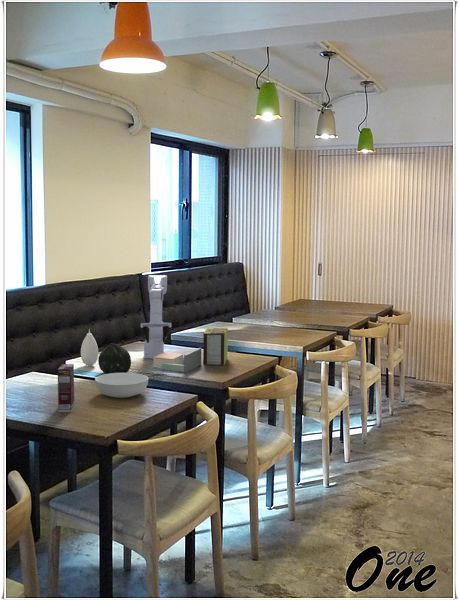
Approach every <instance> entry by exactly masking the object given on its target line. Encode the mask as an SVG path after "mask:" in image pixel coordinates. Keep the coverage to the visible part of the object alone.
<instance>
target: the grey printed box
mask: <svg viewBox="0 0 459 600" xmlns="http://www.w3.org/2000/svg"><path fill="white" fill-rule="evenodd" d="M202 350H203V347H198V348H196V349H194V350H192V351H189V352H188V353H185V354H183V364H182V365H179V364H169V363H162V368H161V370H162V369H165V370H164V371H169V370H172V372H178V371H182V372H181V373H188V372H190V371H192V370H193V369H196V368H198V367H199V366H201V365H202Z"/></svg>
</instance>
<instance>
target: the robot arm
mask: <svg viewBox="0 0 459 600" xmlns="http://www.w3.org/2000/svg"><path fill="white" fill-rule="evenodd" d="M167 289H168V276H167V275H157V274H156V275H155V274H153V275H152V274H149V275H148V276H147V290H148V293H149V305H150V307H149V308H150V309H149V310H150V311H149V322H141V323H140V328H142V331H143V333H144V336H145V340H144V345H143V357H142V358H144V359H151V360H152V359H153V357H155V356H157V355H159V354H161V353H163V352H165V349H164V348H165V347H164V346H165V345H164V344H165V343H166V339H167V335H168V333H169V331H170V328H172V322H164V321H163V301H164V295H165V294H166V293H167Z"/></svg>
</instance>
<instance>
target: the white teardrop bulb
mask: <svg viewBox="0 0 459 600" xmlns="http://www.w3.org/2000/svg"><path fill="white" fill-rule="evenodd" d="M80 357H81V361H82V363H83V364H84V365H85V366H87V367H88V368H89V367H92V366H94V365H95V364H96V363H97V362H98V358H99V348H98V344H97V341H96V339H95V337H94V335H93V334H92V333H91V329H90V328H89V329H88V333H86V336H85V337H84V339H83V341H82V343H81V348H80Z"/></svg>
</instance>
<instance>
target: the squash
mask: <svg viewBox="0 0 459 600" xmlns="http://www.w3.org/2000/svg"><path fill="white" fill-rule="evenodd" d="M97 363H98V366H99V369H100V371H102V372H103V375H105V374H110V373H129V371H130V369H131V366H132V359H131V355H130V352H129V351H128V350H127V349H125V348H124V347H122V345H119V344H117V343H113V342H111V343H109V344H108V345H107V346H106V347H105V348H104V349H103V350H102V351H101V352H100V353H99V354H98V359H97Z"/></svg>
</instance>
